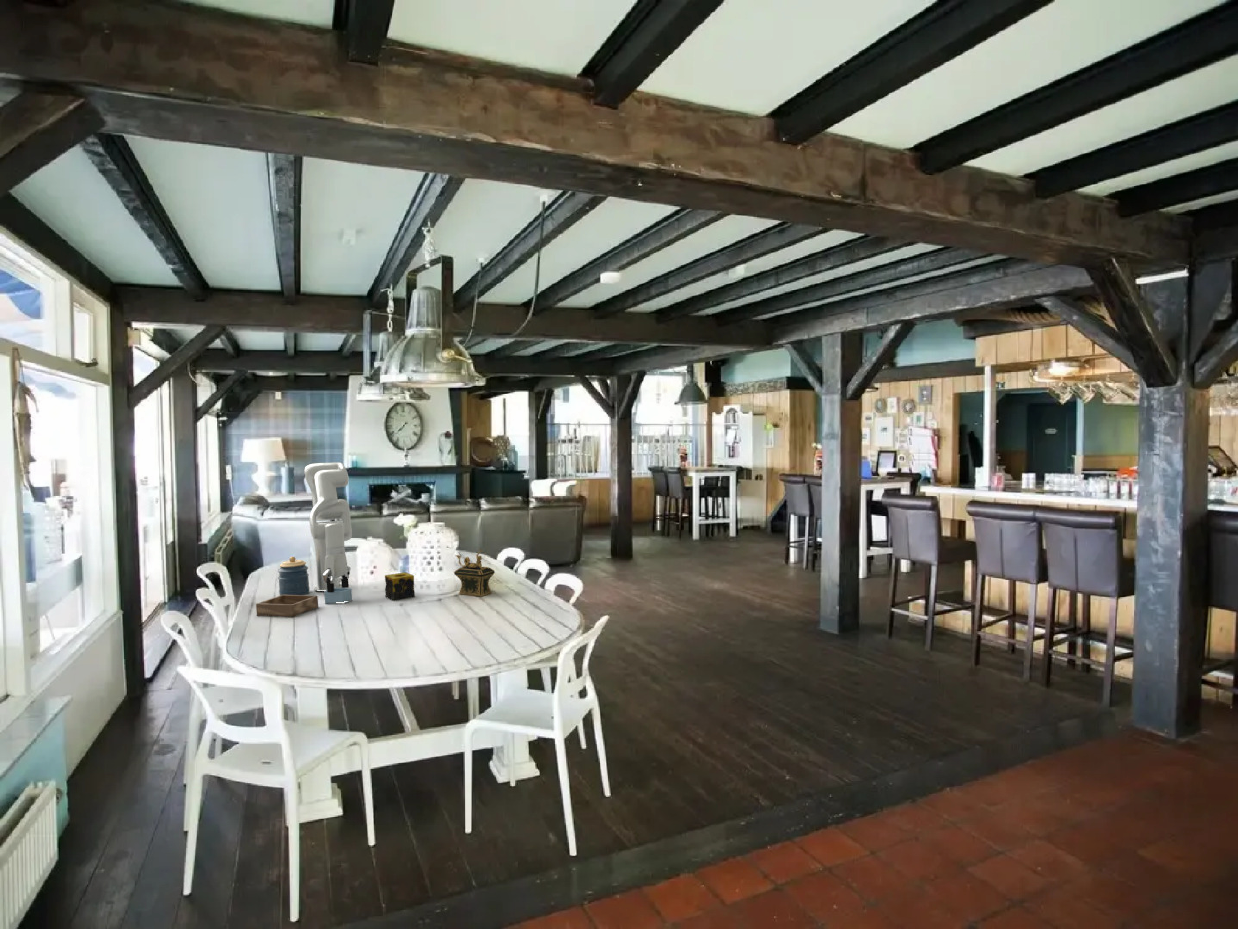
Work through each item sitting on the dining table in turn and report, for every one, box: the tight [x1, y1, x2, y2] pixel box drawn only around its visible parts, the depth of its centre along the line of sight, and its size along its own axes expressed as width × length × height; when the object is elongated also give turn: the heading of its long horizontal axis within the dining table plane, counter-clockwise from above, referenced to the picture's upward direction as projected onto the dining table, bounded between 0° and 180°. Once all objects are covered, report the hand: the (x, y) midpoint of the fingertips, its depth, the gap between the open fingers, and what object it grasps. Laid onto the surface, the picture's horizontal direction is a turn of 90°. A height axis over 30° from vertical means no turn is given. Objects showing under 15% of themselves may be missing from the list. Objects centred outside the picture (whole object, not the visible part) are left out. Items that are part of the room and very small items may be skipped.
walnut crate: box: [255, 594, 319, 618], centre depth 301 cm, size 16×18×5 cm
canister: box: [277, 556, 310, 596], centre depth 333 cm, size 13×13×18 cm
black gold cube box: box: [384, 572, 415, 602], centre depth 320 cm, size 10×10×10 cm
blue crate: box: [323, 587, 353, 605], centre depth 315 cm, size 6×9×6 cm
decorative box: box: [453, 548, 495, 597], centre depth 322 cm, size 20×10×20 cm, turn 60°
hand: (338, 590), depth 314 cm, fingers open, 9 cm apart
